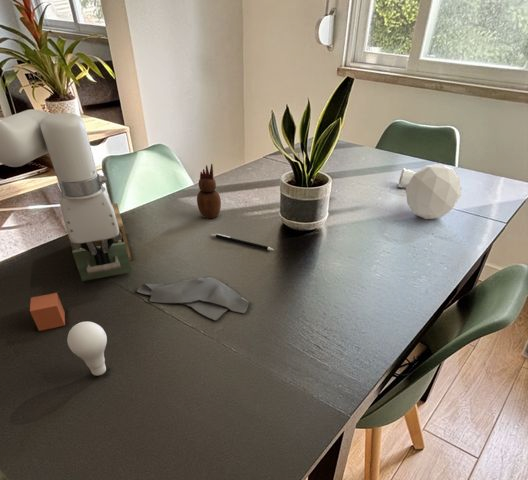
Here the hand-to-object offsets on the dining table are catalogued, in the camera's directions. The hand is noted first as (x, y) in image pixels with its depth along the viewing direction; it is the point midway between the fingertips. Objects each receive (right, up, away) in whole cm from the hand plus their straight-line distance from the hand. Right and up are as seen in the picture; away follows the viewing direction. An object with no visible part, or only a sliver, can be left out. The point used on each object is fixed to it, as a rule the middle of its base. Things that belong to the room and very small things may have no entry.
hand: (104, 266), depth 96 cm
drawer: (-2, +1, +7) cm, 7 cm away
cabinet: (-6, +7, +15) cm, 17 cm away
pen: (+30, +9, +17) cm, 36 cm away
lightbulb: (+7, -23, -20) cm, 31 cm away
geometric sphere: (+84, +20, +29) cm, 91 cm away
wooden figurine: (+20, +21, +31) cm, 42 cm away
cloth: (+21, -7, -1) cm, 22 cm away
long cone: (+90, +34, +45) cm, 106 cm away
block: (-8, -13, -8) cm, 17 cm away
